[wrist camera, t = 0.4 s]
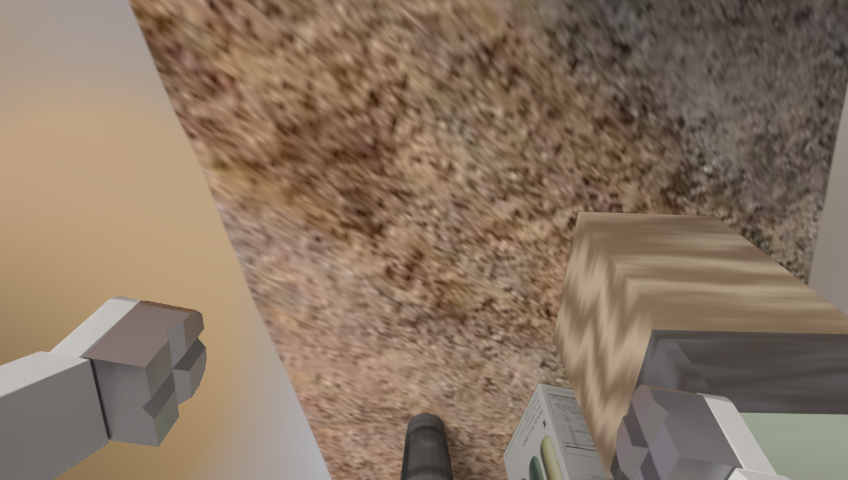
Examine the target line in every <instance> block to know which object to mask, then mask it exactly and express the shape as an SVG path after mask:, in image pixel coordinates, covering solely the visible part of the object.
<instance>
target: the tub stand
mask: <svg viewBox="0 0 848 480" xmlns="http://www.w3.org/2000/svg"><path fill="white" fill-rule="evenodd" d="M553 341H554V344H555V346H556V349H557V351H558V354H559V356H560V359H561V361H562V364H563V366H564V369H565V371H566V374H567V377H568V379H569V382H570V384H571V387H572V389H573V392H574V394H575V397H576V399H577V402H578V404H579V407H580V409H581V412H582V415H583V417H584V420H585V422H586V425H587V427H588V430H589V432H590V435H591V437H592V440H593V442H594V445H595V448H596V450H597V453H598V455H599V458H600V460H601V463H602V465H603V468H604V470H605V473H606V475H607V478H614V480H630V479H629V478H628V477H627V476H626V475H625V474H624V473H623V472H622V471H621V469H620V466H619V462H618V459H617V452H616V438H617V430H618V427H619V425H620V423H621V420H622V418H623V417H624V416H625V415H627V414H629V413H630V412H632V411H634V407H633V405H632V402H631V398H632V396H633V394H634V392H635V390H636V389H637V388H638V387H639V386H640V385H648V386H654V387H660V388H667V389H673V390H679V391H685V392H692V393H702V394H709V395H716V396H723V397H726V398H727V399H729V400H730V401H731V402H732V403H733V404H734V406H735V407H736V409H737V411H738V412H739V413H785V414H839V415H848V316H847V315H845V314H844V313H843V312H841V311H840V310H839V309H838V308H836V307H835V306H834V305H832V304H831V303H830V302H828V301H827V300H826V299H824V298H823V297H822V296H820V295H819V294H818V293H816V292H815V291H814V290H812V289H811V288H810V287H809V286H807V285H806V284H805V283H803V282H802V281H801V280H799V279H798V278H797V277H795V276H794V275H793V274H791V273H790V272H789V271H787V270H786V269H785V268H783V267H782V266H781V265H779V264H778V263H777V262H776V261H774V260H773V259H772V258H770V257H769V256H768V255H766V254H765V253H764V252H762V251H761V250H760V249H758V248H757V247H756V246H754V245H753V244H752V243H750V242H749V241H748V240H746V239H745V238H744V237H743V236H741V235H740V234H739V233H737V232H736V231H735V230H733V229H732V228H731V227H729V226H728V225H727V224H725V223H724V222H723V221H721V220H720V219H719V218H717V217H716V216H698V215H668V214H637V213H606V212H578V217H577V222H576V227H575V232H574V237H573V242H572V247H571V252H570V257H569V262H568V267H567V272H566V277H565V282H564V288H563V293H562V298H561V303H560V308H559V313H558V318H557V323H556V328H555V333H554V338H553Z"/></svg>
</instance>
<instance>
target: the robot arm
mask: <svg viewBox="0 0 848 480" xmlns="http://www.w3.org/2000/svg"><path fill="white" fill-rule="evenodd" d="M203 329H204V325H203V318H202V314H201V313H200V312H198V311H197V310H192V309H187V308H182V307H176V306H171V305H166V304H161V303H155V302H150V301H141V300H137V299H132V298H126V297H121V296H118V297H114V298H111V299H109V300H108V301H107V302H106V303H105V304H104V305H102V306H101V307H100V308H99V309H98V310H97V311H96V312H94V313H93V314H92V315H91V316H90V317H89V318H88V319H87V320H85V321H84V322H83V323H82V324H81V325H80V326H79V327H77V329H75V330H74V331H73V332H72V333H71V334H70V335H68V337H66V338H65V339H64V340H63V341H62V342H60V343H59V344H58V345H57V346H56V347H55V348H54V349H53V350H51V351H50V352H49V353H47V352H41V351H39V352H37V353H34V354H32V355H29V356H26V357H23V358H21V359H18V360H15V361H12V362H10V363H7V364H4V365H2V366H0V480H53V479H54V478H56V477H57V476H59V475H60V474H62V473H63V472H65V471H66V470H68V469H69V468H71V467H73V466H74V465H76V464H77V463H79V462H80V461H82V460H83V459H84V458H86V457H88V456H89V455H91V454H92V453H94V452H95V451H97V450H99V449H100V448H102V447H103V446H105V445H106V444H108V443H109V440H113V441H121V442H127V443H134V444H142V445H149V446H156V447H159V445H160V444H161V442H162V441H163V439H164V438H165V436H166V435H167V433H168V432H169V430H170V429H171V427H172V426H173V424H174V423H175V421H176V420H177V419H178V417H179V413H178V405H179V404H180V403H182V402H184V401H186V400H187V399H189V398H191V397H192V396H193V394H194V393H195V391H196V390H197V388H198V386H199V385H200V382H201V379H202V377H203V374H204V371H205V365H206V347H205V346H204V345H203V344H202V342H201V341H200V340H199V339H198V338H197V337H198V336H199V335H200V333H201V332H202V331H203ZM631 402H632V405H633V407H634V411H632V412H630V413H629V414H627V415H625V416H624V417H623V418H622V420H621V423H620V425H619V427H618V430H617V438H616V452H617V459H618V462H619V466H620V469H621V471H622V472H623V473H624V474H625V475H626V476H627V477H628V478H629V479H630V480H790V479H789V478H788V477H786V476H781V475H777V474H776V472H775V471H774V469H773V467H772V466H771V464H770V462H769V461H768V459H767V458H766V456H765V454H764V453H763V451H762V450H761V448H760V446H759V445H758V443H757V441H756V440H755V438H754V437H753V435H752V433H751V432H750V430H749V428H748V427H747V425H746V424H745V422H744V420H743V419H742V417H741V415H740V414H739V412H738V411H737V409H736V407H735V406H734V404H733V403H732V402H731V401H730V400H729V399H727V398H726V397H723V396H716V395H709V394H702V393H692V392H685V391H679V390H673V389H667V388H660V387H654V386H648V385H640V386H639V387H638V388H637V389H636V390H635V392H634V394H633V396H632V398H631Z"/></svg>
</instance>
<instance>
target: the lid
mask: <svg viewBox="0 0 848 480" xmlns="http://www.w3.org/2000/svg"><path fill="white" fill-rule="evenodd" d="M739 414H740V415H741V417H742V419H743V420H744V422H745V424H746V425H747V427H748V428H749V430H750V432H751V433H752V435H753V437H754V438H755V440H756V441H757V443H758V445H759V446H760V448H761V450H762V451H763V453H764V454H765V456H766V458H767V459H768V461H769V462H770V464H771V466H772V467H773V469H774V471H775V472H776V474H777V475H781V476H786V477H788V478H789V479H790V480H848V415H839V414H785V413H739Z"/></svg>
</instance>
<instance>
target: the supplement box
mask: <svg viewBox="0 0 848 480" xmlns="http://www.w3.org/2000/svg"><path fill="white" fill-rule="evenodd" d="M504 462H505V467H506V472H507V477H508V480H614V478H607V475H606V473H605V470H604V468H603V465H602V463H601V460H600V458H599V455H598V453H597V450H596V448H595V445H594V442H593V440H592V437H591V435H590V432H589V430H588V427H587V425H586V422H585V420H584V417H583V415H582V412H581V409H580V407H579V404H578V402H577V399H576V397H575V394H574V392H573V390H572V389H567V388H562V387H557V386H552V385H547V384H542V383H539V384H538V385H537V388H536V390H535V392H534V394H533V396H532V398H531V400H530V402H529V404H528V406H527V408H526V410H525V412H524V414H523V416H522V418H521V420H520V422H519V424H518V426H517V428H516V430H515V432H514V434H513V436H512V438H511V440H510V442H509V444H508V446H507V448H506V450H505V452H504Z"/></svg>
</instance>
